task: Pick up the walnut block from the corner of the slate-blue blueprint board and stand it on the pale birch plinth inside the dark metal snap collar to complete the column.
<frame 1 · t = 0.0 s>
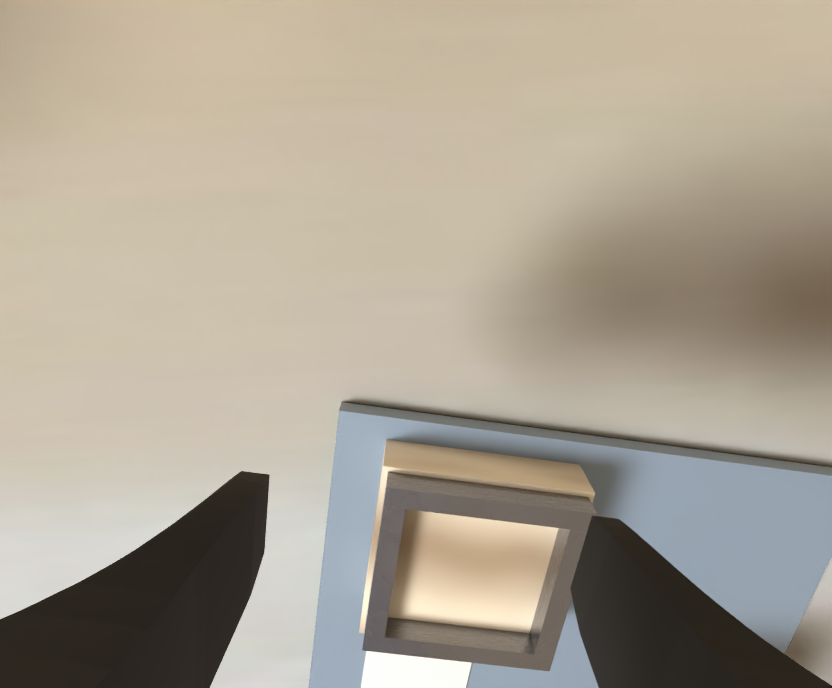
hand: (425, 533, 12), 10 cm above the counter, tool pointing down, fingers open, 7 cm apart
blueprint board: (559, 588, 25), on the counter
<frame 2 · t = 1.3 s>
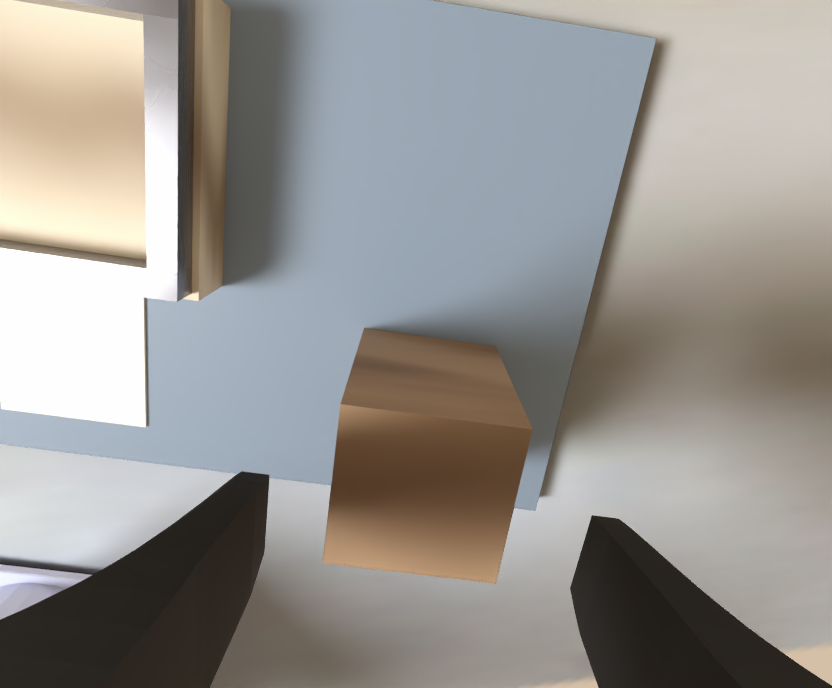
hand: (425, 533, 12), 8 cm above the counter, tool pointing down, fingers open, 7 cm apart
blueprint board: (261, 256, 18), on the counter
walnut block: (420, 397, 19), point 1 cm above the counter, touching blueprint board
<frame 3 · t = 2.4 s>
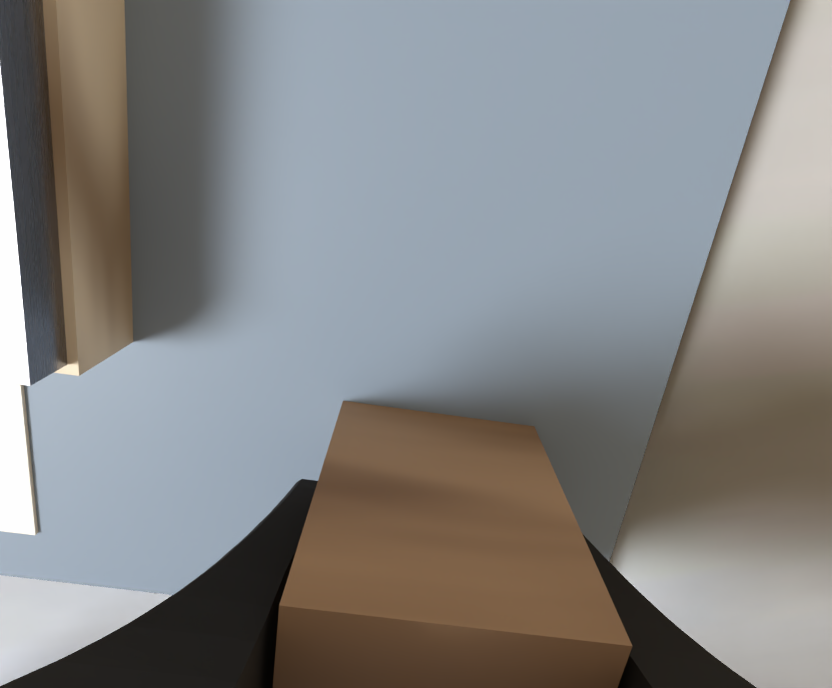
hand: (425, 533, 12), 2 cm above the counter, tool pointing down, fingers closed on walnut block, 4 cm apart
blueprint board: (193, 296, 12), on the counter
walnut block: (424, 495, 13), point 1 cm above the counter, touching blueprint board, gripper
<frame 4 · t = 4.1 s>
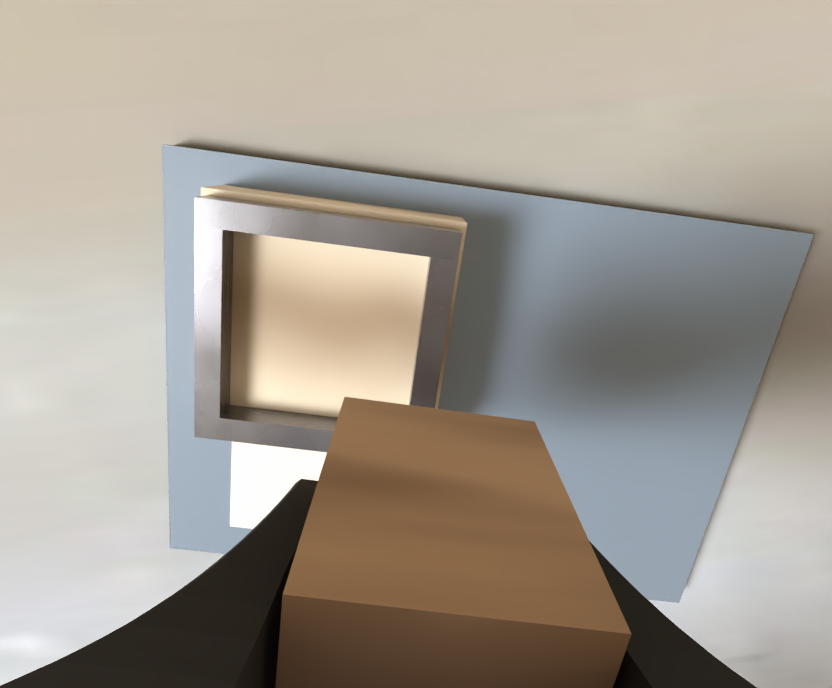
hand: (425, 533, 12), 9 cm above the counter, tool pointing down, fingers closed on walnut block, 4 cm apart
blueprint board: (457, 398, 21), on the counter
walnut block: (426, 490, 13), point 8 cm above the counter, touching gripper
when the fingers open (5 cm above the counter, at t = 5.7 s): walnut block stays where it is, resting on blueprint board.
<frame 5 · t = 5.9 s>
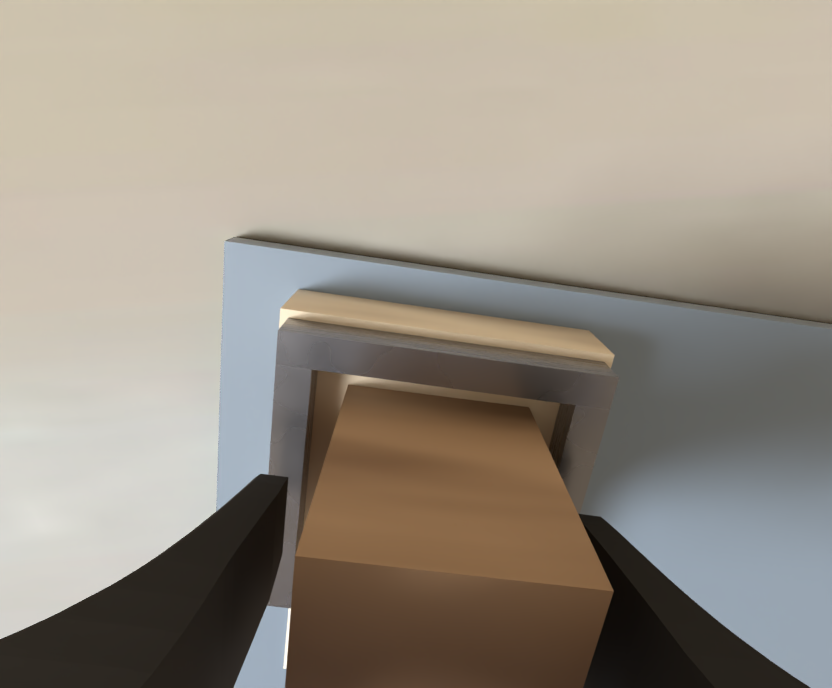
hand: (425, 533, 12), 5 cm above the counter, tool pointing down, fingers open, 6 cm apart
blueprint board: (558, 526, 18), on the counter
walnut block: (426, 474, 14), point 3 cm above the counter, touching blueprint board
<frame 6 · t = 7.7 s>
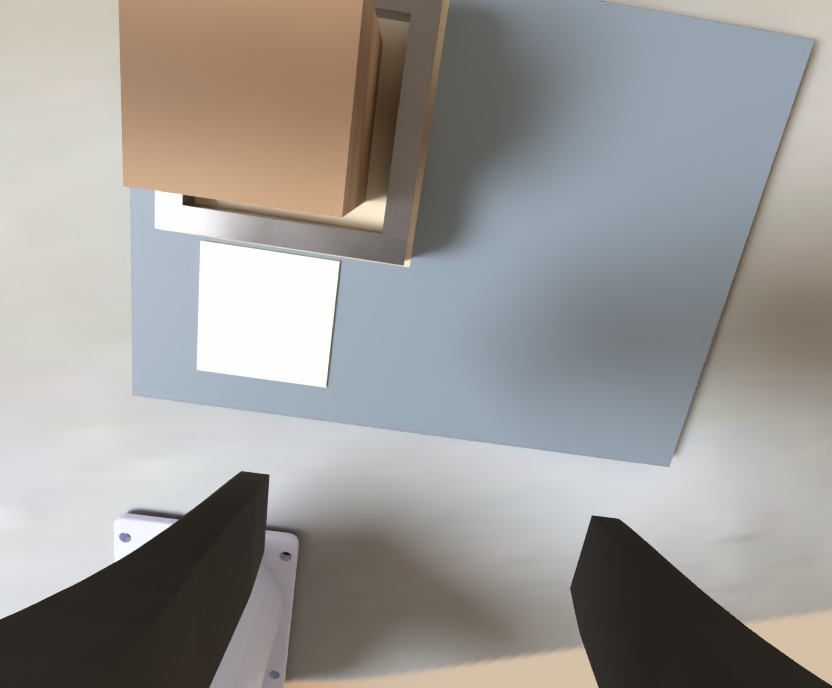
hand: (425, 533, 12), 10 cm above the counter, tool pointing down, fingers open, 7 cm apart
blueprint board: (440, 232, 20), on the counter
walnut block: (299, 114, 16), point 3 cm above the counter, touching blueprint board
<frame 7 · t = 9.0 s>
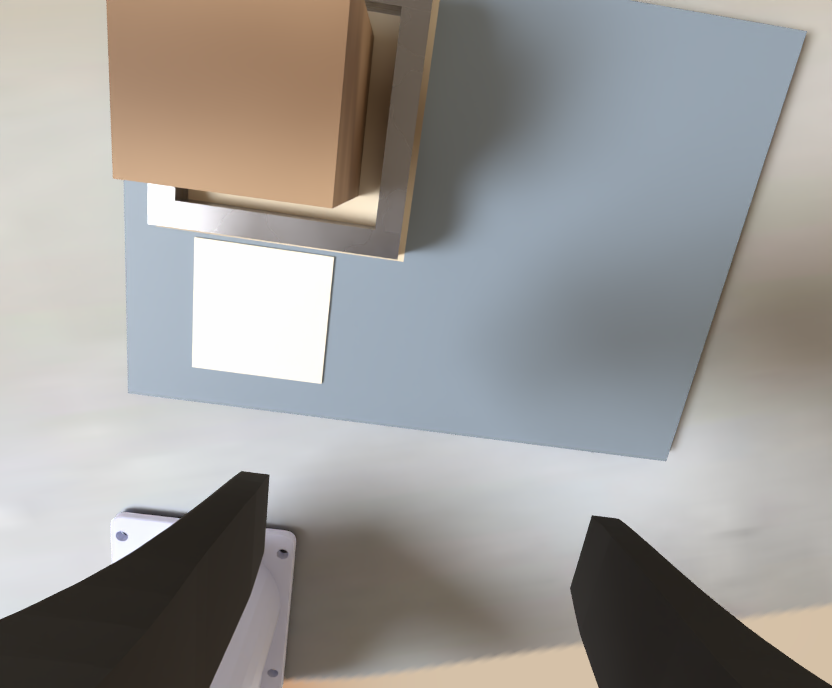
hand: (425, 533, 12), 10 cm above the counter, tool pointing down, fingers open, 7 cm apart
blueprint board: (434, 227, 20), on the counter
walnut block: (291, 109, 16), point 3 cm above the counter, touching blueprint board
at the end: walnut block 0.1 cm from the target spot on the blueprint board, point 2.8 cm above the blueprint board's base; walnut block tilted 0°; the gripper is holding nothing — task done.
